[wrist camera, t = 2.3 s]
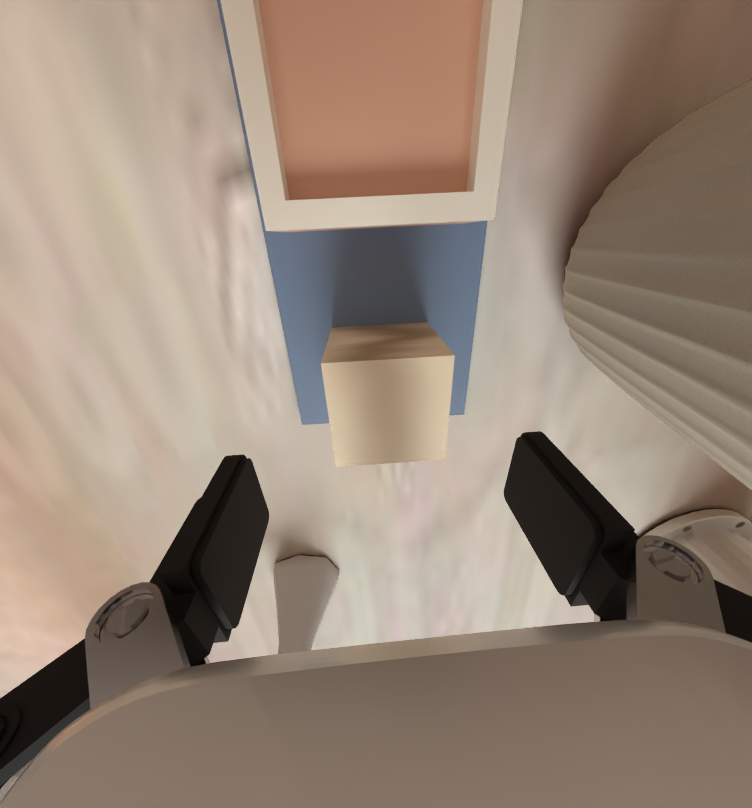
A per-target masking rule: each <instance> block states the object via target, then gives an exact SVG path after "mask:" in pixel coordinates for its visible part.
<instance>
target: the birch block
mask: <svg viewBox="0 0 752 808" xmlns="http://www.w3.org/2000/svg"><path fill="white" fill-rule="evenodd" d="M454 359H455V355H454V354H453V353H452V351H451V350H450V349H449V348H448V346H447V345H446V344H445V343H444V341H443V340H442V339H441V338H440V337H439V335H438V334H437V333H436V332H435V330H434V329H433V328H432V327H431V325H430V324H429V323H428V322H421V323H404V324H386V325H369V326H351V327H334V328H332V329H331V332H330V335H329V338H328V342H327V345H326V348H325V351H324V355H323V358H322V361H321V368H322V375H323V382H324V389H325V396H326V402H327V409H328V416H329V423H330V430H331V437H332V444H333V451H334V457H335V464H336V467H339V466H353V465H368V464H383V463H398V462H413V461H428V460H443V459H445V457H446V446H447V435H448V424H449V413H450V403H451V392H452V381H453V370H454Z"/></svg>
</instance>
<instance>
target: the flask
mask: <svg viewBox="0 0 752 808" xmlns="http://www.w3.org/2000/svg"><path fill="white" fill-rule="evenodd" d="M338 576H339V571H338V570H337V568H336V567H335V566H334V565H333V564H332V563H331V562H330V561H329V560H328V559H327V558H326V557H315V556H303V555H298V556H295V557H292V558H289V559H286V560H283V561H280V562H278V563H275V571H274V588H275V598H276V607H277V619H278V634H279V649H278V654H285V653H294V652H303V651H311V648H312V644H313V642H314V639H315V636H316V634H317V631H318V629H319V626H320V624H321V621H322V618H323V616H324V613H325V611H326V609H327V606H328V604H329V602H330V599H331V597H332V595H333V592H334V590H335V587H336V583H337V580H338Z"/></svg>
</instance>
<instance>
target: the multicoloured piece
mask: <svg viewBox="0 0 752 808" xmlns="http://www.w3.org/2000/svg"><path fill="white" fill-rule="evenodd" d="M217 2H218V7H219V12H220V17H221V22H222V27H223V32H224V37H225V42H226V47H227V52H228V57H229V62H230V67H231V72H232V77H233V82H234V87H235V92H236V97H237V102H238V107H239V112H240V117H241V122H242V127H243V132H244V137H245V142H246V147H247V152H248V157H249V162H250V167H251V172H252V177H253V182H254V187H255V192H256V197H257V202H258V207H259V212H260V217H261V222H262V227H263V232H264V237H265V242H266V247H267V251H268V256H269V261H270V266H271V271H272V276H273V281H274V286H275V291H276V296H277V301H278V306H279V311H280V316H281V321H282V326H283V331H284V336H285V341H286V346H287V351H288V356H289V361H290V366H291V371H292V376H293V381H294V386H295V391H296V396H297V401H298V406H299V411H300V416H301V421H302V425H306V424H322V423H329V416H328V409H327V402H326V396H325V389H324V382H323V375H322V368H321V361H322V358H323V355H324V351H325V348H326V345H327V342H328V338H329V335H330V332H331V329H332V328H334V327H351V326H369V325H386V324H404V323H421V322H428V323H429V324H430V325H431V327H432V328H433V329H434V330H435V332H436V333H437V334H438V335H439V337H440V338H441V339H442V340H443V341H444V343H445V344H446V345H447V346H448V348H449V349H450V350H451V351H452V353H453V354H454V355H455V359H454V370H453V381H452V392H451V403H450V413H449V415H463V414H464V410H465V402H466V393H467V385H468V377H469V368H470V360H471V352H472V343H473V335H474V327H475V318H476V310H477V302H478V293H479V285H480V277H481V268H482V260H483V252H484V243H485V235H486V227H487V220H493V219H495V212H496V204H497V197H498V189H499V181H500V174H501V166H502V158H503V151H504V143H505V135H506V128H507V120H508V112H509V105H510V97H511V89H512V82H513V74H514V66H515V59H516V51H517V43H518V36H519V28H520V20H521V13H522V5H523V0H217Z"/></svg>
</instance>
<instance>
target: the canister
mask: <svg viewBox="0 0 752 808" xmlns="http://www.w3.org/2000/svg"><path fill="white" fill-rule="evenodd" d="M570 252H571V253H570V259H569V262H568V264H567V266H566V267H565V280H564V283H563V285H562V289H563V292H564V298H563V301H562V305H563V308H564V310H565V322H566V324H567V325H568V327H569V332H570V335H571V337H572V338H573V340H574V341H575V342H576V343H577V345H578V348H579V349H580V351H581V352H582V353H583V354H584V355H585V356H586V357H587V358H588V359H589V360H590V361H591V362H592V363H593V364H594V365H595V366H596V367H597V368H598V369H599V370H600V371H601V372H603V373H604V374H605V375H606V376H607V377H609V378H610V379H611V380H612V381H613V382H615V383H616V384H617V385H618V386H619V387H621V388H622V389H623V390H624V391H625V392H627V393H628V394H629V395H630V396H632V397H633V398H634V399H635V400H636V401H638V402H639V403H640V404H641V405H643V406H644V407H645V408H646V409H648V410H649V411H650V412H651V413H653V414H654V415H655V416H657V417H658V418H659V419H660V420H662V421H663V422H664V423H665V424H667V425H668V426H669V427H670V428H672V429H673V430H674V431H676V432H677V433H678V434H680V435H681V436H682V437H684V438H685V439H686V440H687V441H689V442H690V443H691V444H693V445H694V446H695V447H697V448H698V449H699V450H700V451H702V452H703V453H704V454H706V455H707V456H708V457H710V458H711V459H712V460H713V461H715V462H716V463H717V464H718V465H720V466H721V467H722V468H724V469H725V470H726V471H727V472H729V473H730V474H731V475H733V476H734V477H735V478H736V479H738V480H739V481H740V482H741V483H743V484H744V485H745V486H747V487H748V488H749V489H750V490H752V79H751V80H749V81H747V82H746V83H744V84H742V85H740V86H738V87H736V88H734V89H733V90H731V91H729V92H727V93H725V94H723V95H722V96H720V97H718V98H716V99H714V100H713V101H711V102H709V103H707V104H706V105H704V106H702V107H700V108H699V109H697V110H695V111H694V112H692V113H691V114H689V115H688V116H686V117H685V118H683V119H682V120H681V121H679V122H678V123H677V124H676V125H674V126H673V127H672V128H670V129H669V130H667V131H666V132H664V133H663V134H661V135H659V136H658V137H657V138H656V139H654V140H653V141H652V142H651V143H650V144H649V145H648V146H647V147H646V148H645V149H644V150H643V151H642V153H641V154H639V155H637V156H636V157H635V158H634V159H632V160H631V161H630V162H629V163H628V164H627V165H626V166H625V167H624V168H623V170H622V171H621V173H620V174H619V176H618V177H617V178H616V179H615V180H613V181H612V182H611V183H610V184H609V185H608V186H607V187H606V189H605V190H604V192H603V195H602V196H601V198H600V199H599V200H598V202H597V203H596V204H595V205H594V206H593V207H592V208H591V210H590V212H589V216H588V218H587V220H586V221H585V223H584V224H583V225H582V226H581V227H580V229H579V233H578V237H577V239H576V241H575V243H574V245H573V247H572V248H571V250H570Z"/></svg>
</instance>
